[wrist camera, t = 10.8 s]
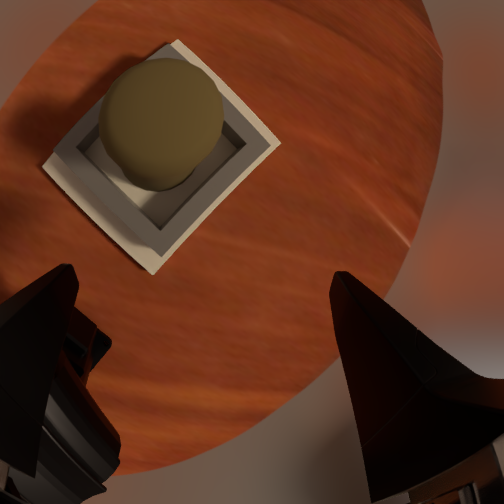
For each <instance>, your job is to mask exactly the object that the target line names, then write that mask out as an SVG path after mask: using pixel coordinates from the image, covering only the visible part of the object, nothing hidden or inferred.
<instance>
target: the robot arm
mask: <svg viewBox="0 0 504 504" xmlns="http://www.w3.org/2000/svg"><path fill="white" fill-rule="evenodd" d="M78 290H79V282H78V279H77V276H76V273H75V270H74V267H73V266H72V265H71V264H60V265H59V266H57V267H55V268H54V269H52V270H51V271H49V272H48V273H46V274H44V275H43V276H41V277H40V278H38V279H37V280H35V281H34V282H32V283H31V284H29V285H28V286H26V287H25V288H23V289H22V290H20V291H19V292H18V293H16V294H15V295H13V296H12V297H10V298H9V299H8V300H6V301H5V302H3V303H2V304H1V305H0V504H80V503H82V502H83V501H85V500H86V499H88V498H90V497H92V496H94V495H97V494H100V493H104V492H106V490H107V488H106V487H105V486H104V485H102V483H103V482H105V481H106V480H107V479H108V478H109V477H110V476H111V475H112V474H113V473H114V472H115V470H116V469H117V467H118V466H119V464H120V460H119V458H118V457H119V453H120V448H121V442H120V435H119V434H118V432H117V431H116V429H115V428H114V427H113V425H112V424H111V423H110V421H109V420H108V419H107V417H106V416H105V415H104V413H103V412H102V411H101V409H100V408H99V406H98V405H97V403H96V402H95V401H94V399H93V398H92V396H91V395H90V393H89V392H88V390H87V389H86V384H87V380H88V376H89V373H90V372H91V370H92V369H93V368H94V367H95V365H96V364H97V363H98V362H99V361H100V359H101V358H102V357H103V356H104V355H105V353H106V352H107V351H108V350H109V349H110V347H111V345H112V340H111V339H110V338H109V337H108V336H107V335H105V334H104V333H103V332H102V331H100V330H99V329H98V328H97V325H96V324H94V323H93V322H92V321H91V320H90V319H88V318H87V317H86V316H85V315H84V314H82V313H81V312H80V311H79V310H78V309H77V308H75V307H74V305H75V301H76V297H77V293H78ZM329 298H330V304H331V311H332V318H333V324H334V331H335V337H336V341H337V345H338V349H339V352H340V356H341V360H342V364H343V368H344V372H345V376H346V380H347V385H348V389H349V393H350V397H351V402H352V406H353V411H354V415H355V420H356V424H357V429H358V434H359V439H360V444H361V447H362V448H361V449H362V454H363V460H364V465H365V471H366V476H367V482H368V487H369V494H370V499H371V503H372V504H373V503H376V502H380V501H383V500H386V499H390V498H393V497H396V496H399V495H402V494H405V493H408V495H409V500H410V503H407V504H504V379H493V378H486V377H483V376H480V375H478V374H476V373H474V372H473V371H472V370H470V369H469V368H467V367H466V366H465V365H463V364H462V363H461V362H459V361H458V360H457V359H455V358H454V357H453V356H451V355H450V354H449V353H447V352H446V351H445V350H443V349H442V348H441V347H439V346H438V345H436V344H435V343H434V342H433V341H432V340H431V339H429V338H428V337H427V336H426V335H424V334H423V333H422V332H421V331H420V330H417V328H416V327H415V326H414V325H413V324H412V323H410V322H409V321H408V320H407V319H405V318H404V317H403V316H402V315H401V314H400V313H398V312H397V311H396V310H395V309H393V308H392V307H391V306H390V305H389V304H387V303H386V302H385V301H384V300H383V299H381V298H380V297H379V296H378V295H376V294H375V293H374V292H373V291H371V290H370V289H369V288H368V287H366V286H365V285H364V284H363V283H361V282H360V281H359V280H358V279H356V278H355V277H354V276H353V275H351V274H350V273H349V272H347V271H337V272H335V274H334V276H333V280H332V283H331V287H330V291H329ZM104 341H107V342H108V343H109V344H105V343H104Z"/></svg>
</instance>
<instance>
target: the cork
mask: <svg viewBox="0 0 504 504" xmlns="http://www.w3.org/2000/svg"><path fill="white" fill-rule="evenodd" d="M223 121H224V110H223V102H222V96H221V94H220V92H219V90H218V88H217V86H216V84H215V82H214V81H213V80H212V79H211V78H210V77H209V76H208V75H207V74H206V73H205V72H204V71H203V70H202V69H201V68H199V67H197V66H195V65H193V64H191V63H189V62H187V61H185V60H179V59H173V58H158V59H151V60H146V61H144V62H141V63H139V64H137V65H135V66H132V67H130V68H129V69H127V70H126V71H125V72H124V73H123V74H121V75H120V76H119V77H118V78H117V79H116V80H114V82H113V83H112V85H111V86H110V88H109V89H108V91H107V92H106V94H105V96H104V98H103V101H102V105H101V109H100V113H99V117H98V123H99V136H100V139H101V142H102V144H103V146H104V148H105V150H106V153H107V155H108V156H109V157H110V158H111V159H112V160H113V161H114V162H115V163H116V164H117V165H118V166H119V167H120V168H121V169H122V172H123V174H124V176H125V177H126V178H127V179H128V180H129V181H130V182H131V183H132V184H133V185H135V186H137V187H139V188H141V189H143V190H146V191H154V192H161V191H166V190H171V189H173V188H175V187H177V186H179V185H181V184H183V183H184V182H185V181H186V180H187V179H188V178H189V177H190V176H191V175H192V173H193V171H194V170H195V168H196V167H197V166H198V165H199V164H200V163H201V162H202V161H203V160H204V159H205V158H206V157H207V156H208V155H209V154H210V153H211V152H212V150H213V148H214V147H215V145H216V143H217V141H218V140H219V138H220V136H221V131H222V126H223Z"/></svg>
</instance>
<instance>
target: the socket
mask: <svg viewBox="0 0 504 504" xmlns="http://www.w3.org/2000/svg"><path fill="white" fill-rule="evenodd" d="M158 58H173V59H179V60H185V61H187V62H189V63H191V64H193V65H195V66H197V67H199V68H201V69H202V70H203V71H204V72H205V73H206V74H207V75H208V76H209V77H210V78H211V79H212V80H213V81H214V82H215V84H216V86H217V88H218V90H219V92H220V94H221V96H222V102H223V110H224V121H223V126H222V131H221V136H220V138H219V140H218V141H217V143H216V145H215V147H214V148H213V150H212V152H211V153H210V154H209V155H208V156H207V157H206V158H205V159H204V160H203V161H202V162H201V163H200V164H199V165H198V166H197V167H196V168H195V170H194V171H193V173H192V175H191V176H190V177H189V178H188V179H187V180H186V181H185V182H184V183H183V184H181V185H179V186H177V187H175V188H173V189H171V190H166V191H161V192H154V191H146V190H143V189H141V188H139V187H137V186H135V185H133V184H132V183H131V182H130V181H129V180H128V179H127V178H126V177H125V176H124V174H123V172H122V169H121V168H120V167H119V166H118V165H117V164H116V163H115V162H114V161H113V160H112V159H111V158H110V157H109V156H108V155H107V153H106V150H105V148H104V146H103V144H102V142H101V139H100V136H99V123H98V117H99V113H100V109H101V105H102V101H103V98H104V96H105V95H104V96H103V97H102V98H101V99H100V100H99V101H98V102H97V103H96V104H95V105H94V106H93V107H92V108H91V109H90V110H89V111H88V112H87V113H86V114H85V115H84V116H83V117H82V118H81V119H80V120H79V121H78V122H77V123H76V124H75V125H74V126H73V127H72V129H71V130H70V131H69V132H68V133H67V134H66V135H65V136H64V137H63V139H62V140H61V141H60V142H59V143H58V144H57V146H56V147H55V148H54V149H53V151H54V152H53V154H52V155H51V156H50V157H49V159H48V160H47V161H46V162H45V164H44V165H43V166H42V167H43V169H44V170H45V171H46V172H47V173H48V174H49V175H50V176H51V177H52V178H53V179H54V181H55V182H56V183H57V184H58V185H59V186H60V187H61V188H62V189H63V190H64V191H65V192H66V193H67V194H68V195H69V196H70V197H71V198H72V199H73V201H74V202H75V203H76V204H77V205H78V206H79V207H80V208H81V209H82V210H83V211H84V212H85V213H86V214H87V215H88V216H89V217H90V218H91V219H92V220H93V221H94V222H95V223H96V224H98V225H99V226H100V227H101V228H102V229H103V230H104V231H105V232H106V233H107V234H108V235H109V236H110V237H111V238H112V239H113V240H114V241H115V242H116V243H117V244H119V245H120V246H121V247H122V248H123V249H124V250H125V251H126V252H127V253H128V254H129V255H130V256H132V257H133V258H134V259H135V260H136V261H137V262H138V263H139V264H140V265H142V266H143V267H144V268H145V269H146V270H147V271H148V272H150V273H151V274H152V275H154V274H155V273H156V271H157V270H158V269H159V268H160V267H161V266H162V265H163V264H164V262H165V261H166V260H167V259H168V258H169V257H170V256H171V255H172V254H173V253H174V251H175V250H176V249H177V248H178V247H179V246H180V245H181V244H182V243H183V242H184V241H185V240H186V238H187V237H188V236H189V235H190V234H191V233H192V232H193V231H194V230H195V229H196V228H197V227H198V226H199V225H200V224H201V222H202V221H203V220H204V219H205V218H206V217H207V216H208V215H209V214H210V213H211V212H212V211H213V210H214V209H215V208H216V207H217V206H218V205H219V204H220V203H221V202H222V201H223V200H224V199H225V198H226V197H227V196H228V195H229V194H230V193H231V192H232V191H233V190H234V189H235V188H236V187H237V185H238V184H239V183H240V182H241V181H243V180H244V179H245V178H246V177H247V176H248V175H249V174H250V173H251V172H252V171H253V170H254V169H255V168H256V167H257V166H258V165H259V164H260V163H261V162H262V161H263V160H264V159H265V158H266V157H267V156H268V155H269V154H270V153H271V152H272V151H273V150H274V149H275V148H276V147H277V146H279V145H280V144H281V142H280V141H279V140H278V139H277V138H276V137H275V136H274V135H273V133H272V132H271V131H270V130H269V129H268V128H267V127H266V126H265V125H264V124H263V122H262V121H261V120H260V119H259V118H258V117H257V116H256V115H255V114H254V113H253V112H252V111H251V110H250V108H249V107H248V106H247V105H246V104H245V103H244V102H243V101H242V100H241V99H240V98H239V97H238V96H237V95H236V94H235V93H234V92H233V91H232V90H231V89H230V88H229V87H228V86H227V85H226V84H225V83H224V82H223V81H222V80H221V79H220V78H219V77H218V76H217V75H216V74H215V73H214V72H213V71H212V70H211V69H210V68H209V67H208V66H207V65H206V64H205V63H203V62H202V61H201V60H200V59H199V58H198V57H197V56H196V55H195V54H194V53H193V52H192V51H190V50H189V49H188V48H187V47H186V46H185V45H184V44H183V43H182V42H180V41H179V40H178V39H177V40H176V41H175V42H173V43H172V44H169V43H168V44H167V45H165V46H164V47H163V48H161V49H160V50H158V51H157V52H156V53H154V54H153V55H152V56H150V57H149V58H148V59H147V60H151V59H158ZM145 61H146V60H145Z"/></svg>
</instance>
